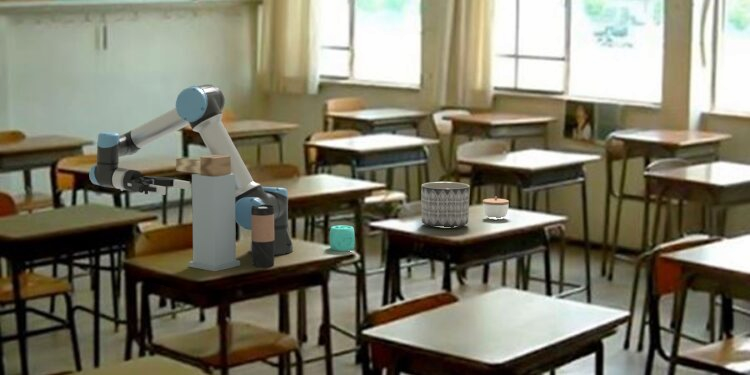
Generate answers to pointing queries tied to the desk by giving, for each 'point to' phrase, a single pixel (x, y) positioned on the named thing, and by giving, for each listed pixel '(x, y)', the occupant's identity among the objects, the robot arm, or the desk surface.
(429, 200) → the planter
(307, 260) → the desk surface
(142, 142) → the robot arm
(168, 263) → the desk surface
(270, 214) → the travel mug
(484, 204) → the lidded jar
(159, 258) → the desk surface
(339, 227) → the decorative dice
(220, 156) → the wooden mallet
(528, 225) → the desk surface
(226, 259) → the pedestal
